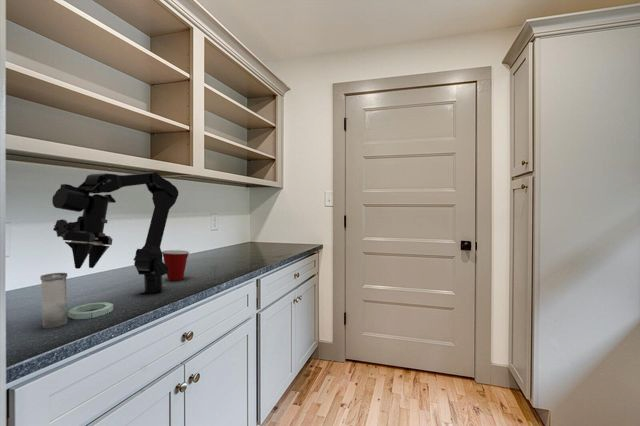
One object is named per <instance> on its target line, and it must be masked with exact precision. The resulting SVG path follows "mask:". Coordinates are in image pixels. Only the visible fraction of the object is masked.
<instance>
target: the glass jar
mask: <svg viewBox="0 0 640 426" xmlns="http://www.w3.org/2000/svg"><path fill="white" fill-rule="evenodd" d="M39 277H40V281H41V303H42V304H41V307H42V308H41V309H42V312H41V313H42V328H44V329H53V328H59V327H62V326H65V325H66V324H67V323H68V294H67V293H68V290H67V289H68V288H67V287H68V286H67V278H68V273H67V272H54V273H46V274H42V275H40V276H39ZM67 325H68V324H67Z"/></svg>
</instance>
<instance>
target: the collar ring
mask: <svg viewBox="0 0 640 426" xmlns="http://www.w3.org/2000/svg"><path fill="white" fill-rule="evenodd" d="M90 310H91V311H90ZM113 311H114V303H111V302H107V301H105V302H104V301H103V302H90V303H85V304H81V305H77V306H74V307H72V308H70V309H69V310H67V318H70V319H72V320H87V319H94V318H99V317H101V315H102V316H105V314H106V315H108V314H110V313H111V312H113ZM109 312H110V313H109ZM107 313H108V314H107Z"/></svg>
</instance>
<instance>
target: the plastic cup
mask: <svg viewBox="0 0 640 426" xmlns="http://www.w3.org/2000/svg"><path fill="white" fill-rule="evenodd" d="M161 252H162V255H163V257H162V259H163V263H164V264H165V265H166V266H167V267H168V272H167V274H166V277H167V280H168V281H169V282H177V281H181V280H183V279H184V276H185V271H186V265H187V259H188V257H189V254H190V253H191V252H190V251H188V250H183V249H182V250H181V249H180V250H179V249H171V250H169V249H168V250H161Z"/></svg>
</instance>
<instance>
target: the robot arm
mask: <svg viewBox="0 0 640 426" xmlns="http://www.w3.org/2000/svg"><path fill="white" fill-rule="evenodd" d="M140 185H145V186H146V187H147V191H149V192H150V193H151V195H152V203H153V207H154V208H153V212H152V216H151V220H150V223H149V228H148V231H147V235H146V239H145V244H144V245H143V246H142V248H136V250H135V256H134V258H133V261H134V263H133V264H134V267H135V268H136V270H137V273H138V276H139V275H143V278H144V279H143V281H144V285H143V287H144V289H143V290H142V291H141V292H140V294H141V295H145V294H159V293H160V294H161V293H163V291H164V290H165V289H166V286H163V276H165V275H167V272H168V267H167V266H166V265H165V262H164V261H163V254H162V249H161V244H162V241H163V237H164V231H165V228H166V225H167V220H168V216H169V212H170V210H171V208H172V207H173V206H174V205H175V203H176V202H177V199H178V197H179V189H178V188H177V186H175V185H174V184H173V183H171V181H169V180H167V179H165V178H163V177H162V176H161V175H160V174H159V173H158V172H155V171H147V172H146V171H145V172H143V173H133V174H132V173H131V174H115V173H105V172H103V173H91V174H88V175H87V176H86V177H85V180H84V181H83V182H82V183H81V184H80V185H78V186H73V185H71V184H67V183H62V184H60V187H59V188H58V189H57V190H56V191H55V193H54V195H52V199H51V200H52V201H51V203H52V205H53V207H54V208H55V209H60V210H66V211H71V212H76V213H80V212H82V215H80V216H78V217H77V220H76V221H69V222H68V221H67V220H66V219H64V218H63V219H59V220H56V223H55V225H54V226H53V227H54V228H53V230H52V231H54V232H55V233H56V236H57V238H62V241H64V243H65V244H66V245H67V246H68V247H70V248H71V251H72V256H73V257H72V258H73V263H74V268H75V269H76V270H77V269H79V270H80V269H81V268H82V266H83V265H84V263H85V261H86V259H87V257H88V268H89V269H94V268H95V266H96V265H97V263H98V262H99V261H100V259H101V258H102V256H104V254H105V253H106V252H107V250H108V249H109V248H110V246H112V244H113V238H112V237H111V236H109V235H107V234H106V233H104V228H105V224H108V219H106V218H107V213H108V212H107V211H108V207H109V203H110V204H112V203H113V204H114V203H116V202H117V200H115V197H114V198H113V196H112V194H111V193H112V192H116V191H118V190H119V189H122V188H125V187H132V186H140ZM102 193H103V194H104V195H103V194H102ZM105 193H107V194H105ZM108 193H110V194H108ZM90 194H92V195H90Z"/></svg>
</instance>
